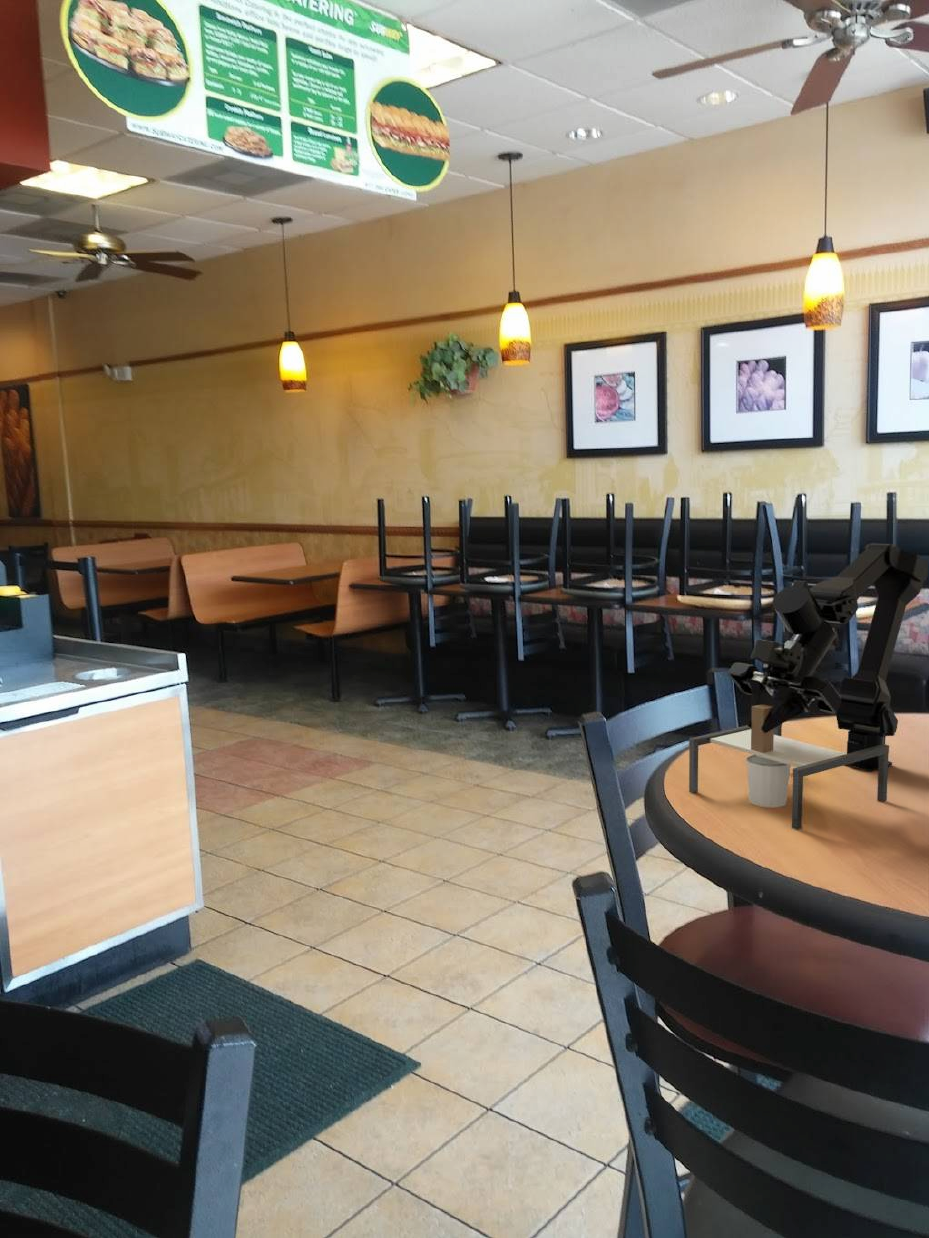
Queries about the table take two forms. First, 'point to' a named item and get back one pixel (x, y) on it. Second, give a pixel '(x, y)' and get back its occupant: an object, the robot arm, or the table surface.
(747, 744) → the sliding cover
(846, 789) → the table surface
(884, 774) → the cover frame
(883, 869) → the table surface
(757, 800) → the white cup
